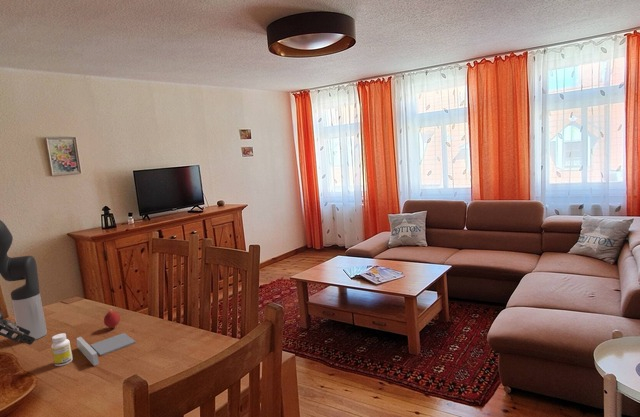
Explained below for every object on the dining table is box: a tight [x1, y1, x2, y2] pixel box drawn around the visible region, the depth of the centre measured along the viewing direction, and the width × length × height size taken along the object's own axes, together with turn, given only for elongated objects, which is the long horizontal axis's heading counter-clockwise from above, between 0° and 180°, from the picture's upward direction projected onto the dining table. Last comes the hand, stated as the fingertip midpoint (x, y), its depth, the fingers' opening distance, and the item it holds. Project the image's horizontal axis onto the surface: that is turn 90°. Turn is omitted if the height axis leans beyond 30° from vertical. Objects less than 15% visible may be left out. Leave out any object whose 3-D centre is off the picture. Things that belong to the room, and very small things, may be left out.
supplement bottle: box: [51, 332, 74, 367], centre depth 136 cm, size 5×5×10 cm
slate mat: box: [90, 332, 137, 356], centre depth 147 cm, size 12×12×1 cm
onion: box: [103, 309, 121, 329], centre depth 162 cm, size 6×6×8 cm
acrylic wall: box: [76, 336, 100, 367], centre depth 139 cm, size 20×2×4 cm, turn 45°
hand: (30, 337), depth 129 cm, fingers open, 8 cm apart
